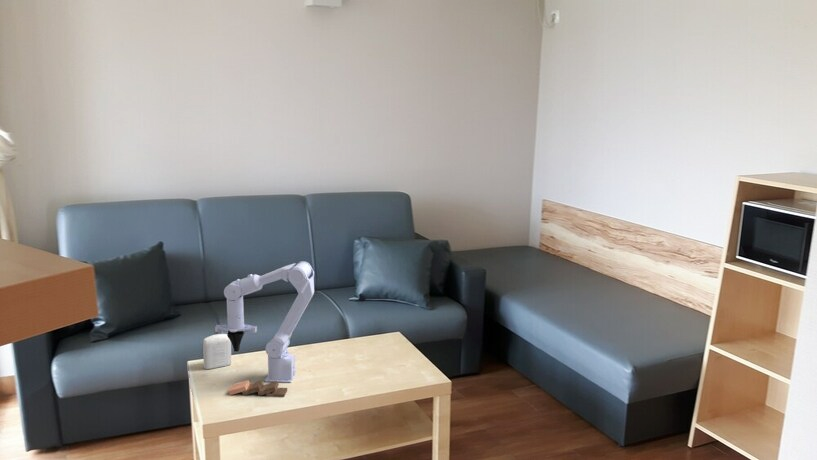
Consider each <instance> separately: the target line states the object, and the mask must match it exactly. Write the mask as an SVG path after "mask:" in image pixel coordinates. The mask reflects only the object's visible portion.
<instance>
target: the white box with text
mask: <svg viewBox="0 0 817 460" xmlns="http://www.w3.org/2000/svg"><path fill="white" fill-rule="evenodd" d="M227 334H228V333H217V334H212V335H210V336H207V337H205V338H203V342H202V345H203V346H202V349H203V350H202V351H203V355H202V356H203V357H202V358H203V369H204V370H211V369H212V370H213V369H217V368H222V367H227V366H231V365H232V343H231V341H230V339H229V338H228V336H227Z"/></svg>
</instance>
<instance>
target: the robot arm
mask: <svg viewBox="0 0 817 460" xmlns="http://www.w3.org/2000/svg"><path fill="white" fill-rule="evenodd" d="M314 278H315V271H314V269H313V268H312V265H311V264H310V263H309V262H308V261H298V262H297V263H296V262H295V263H292V264H288V265H284V266H283V267H280V268H277V269H274V270H273V271H270V272H267V273H265V274H263V275H258V274H252V273H251V274H247V277H244V278H242V279H240V278H238V279H236V280H234V281H231V283H230V282H229V284H228V285H227V286H226V287H224V290H223V295H224V297H225V298H226V315H227V317H226V318H227V324H216V325H215V327H214V330H215V331H214V332H215V333H219V332H227V333H226V334H227V336H228V338H229V339H230V341H231V346H232V349H233V351H234V352H239V351H240V348H241V342H242V339H243V337H244V335H245V333H252V334H256V333H257V331H258V326H257V325H251V324H245V315H244V314H245V313H244V311H245V310H244V296H246V295H250V294H252V293H255V292H258V291H261V290H262V289H263V286H264V285H267V284H270V283H274V282H277V281H280V280H282V281H285V282H287V283H288V282H290V284H291V285H292V286H293V288H295V290H296V291H297V294H298V295H297V296H296V298H295V300H294V301H293V303H292V305H291V306H290V309H289V311H288V312H287V314H286V315H285V318H284V320H283V321H282V323H281V325H280V327H279V328H278V331H277V332H275V334H274V335H273V337H272V338H271V340H270V341H268V342H267V343H266V345H265V352H266V355H267V371H268V372H267V373H268V374H267V376H266V378H265V379H264V381H265V382H268V383H271V382H275V381H278V383H292V381H293V379H294V377H295V376H296V374H297V373H296V356H295V355H294V354H292V353H289V350H288V347H289V346H290V343H291V337H292V335H293V334H292V333H293V332H294V330H295V329H296V327H297V324H298V323H299V321H300V319H301V317H302V315H304V312H305V310H306V308H307V307H308V305H309V303H310V302H311V299H312V298H313V296H314V295H315V281H314Z"/></svg>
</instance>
